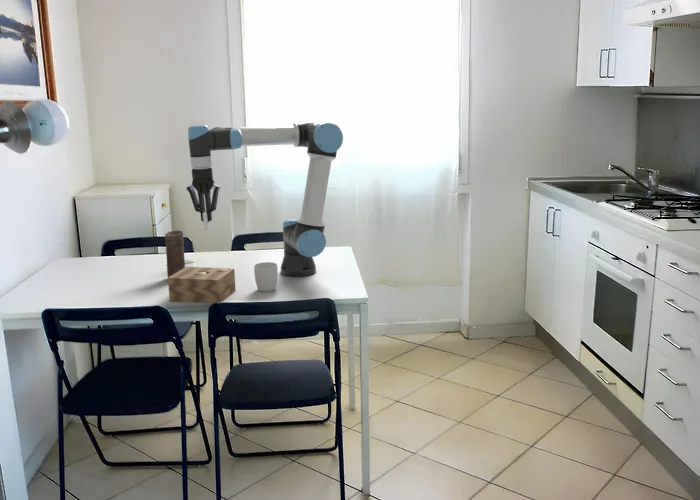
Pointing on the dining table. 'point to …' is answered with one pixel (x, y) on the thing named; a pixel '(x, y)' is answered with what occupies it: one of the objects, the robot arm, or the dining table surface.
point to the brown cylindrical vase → (174, 252)
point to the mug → (266, 276)
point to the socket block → (202, 284)
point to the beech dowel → (200, 273)
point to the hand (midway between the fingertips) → (207, 229)
